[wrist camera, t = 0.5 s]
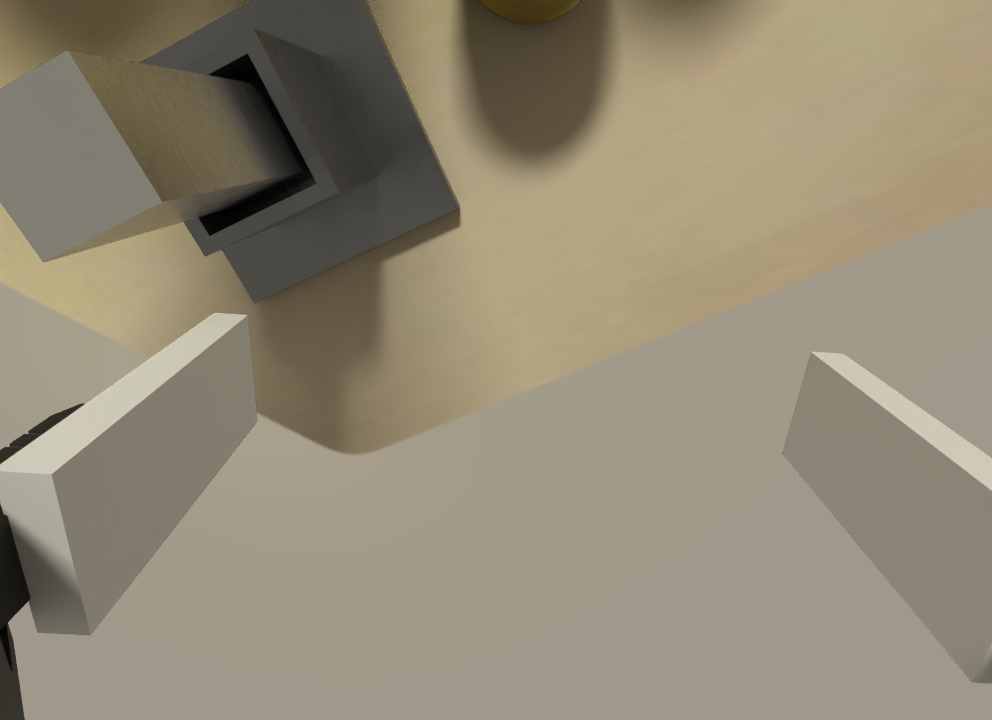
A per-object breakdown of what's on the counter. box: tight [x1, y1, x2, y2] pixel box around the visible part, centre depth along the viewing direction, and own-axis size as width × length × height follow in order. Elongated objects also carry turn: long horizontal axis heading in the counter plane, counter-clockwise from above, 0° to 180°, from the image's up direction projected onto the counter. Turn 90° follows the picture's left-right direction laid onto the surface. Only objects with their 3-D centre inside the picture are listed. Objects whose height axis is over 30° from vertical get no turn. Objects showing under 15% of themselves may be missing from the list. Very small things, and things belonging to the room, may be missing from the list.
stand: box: [140, 0, 460, 303], centre depth 35 cm, size 16×16×11 cm
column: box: [0, 50, 313, 262], centre depth 29 cm, size 5×5×22 cm
